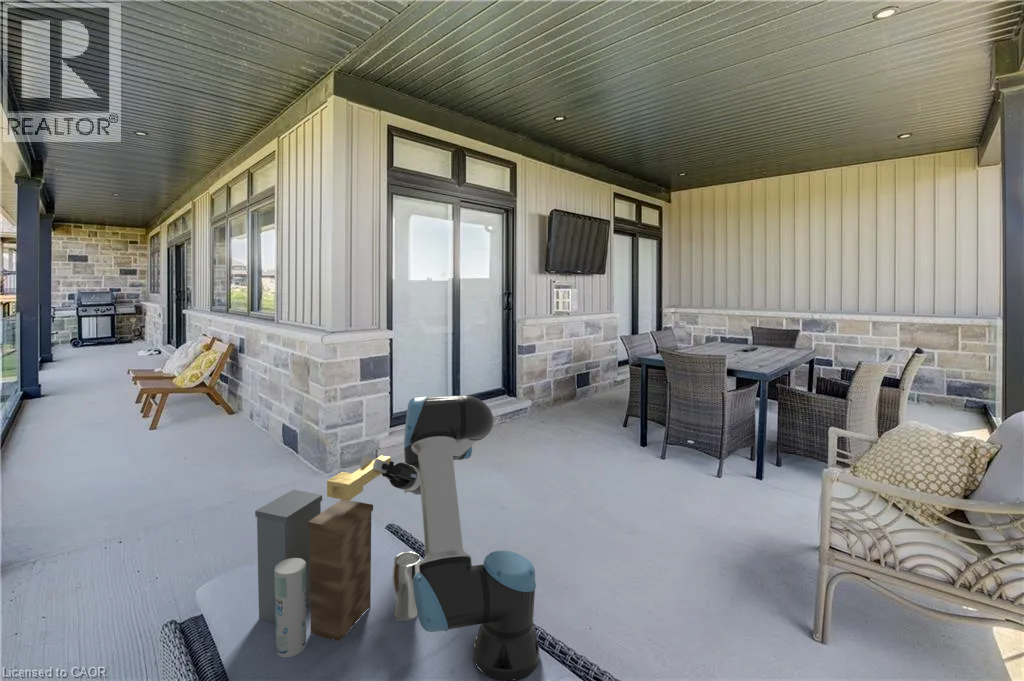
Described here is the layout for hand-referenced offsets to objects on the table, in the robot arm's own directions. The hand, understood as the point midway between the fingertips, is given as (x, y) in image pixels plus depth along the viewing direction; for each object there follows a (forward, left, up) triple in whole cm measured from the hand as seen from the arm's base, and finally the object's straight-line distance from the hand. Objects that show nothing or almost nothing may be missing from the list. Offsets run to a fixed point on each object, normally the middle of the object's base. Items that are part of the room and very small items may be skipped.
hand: (368, 462), depth 131 cm
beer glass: (-14, -4, -37) cm, 39 cm away
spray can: (-9, +22, -37) cm, 44 cm away
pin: (-1, +2, -4) cm, 5 cm away
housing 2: (-7, +10, -36) cm, 38 cm away
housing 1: (+5, +18, -36) cm, 41 cm away
